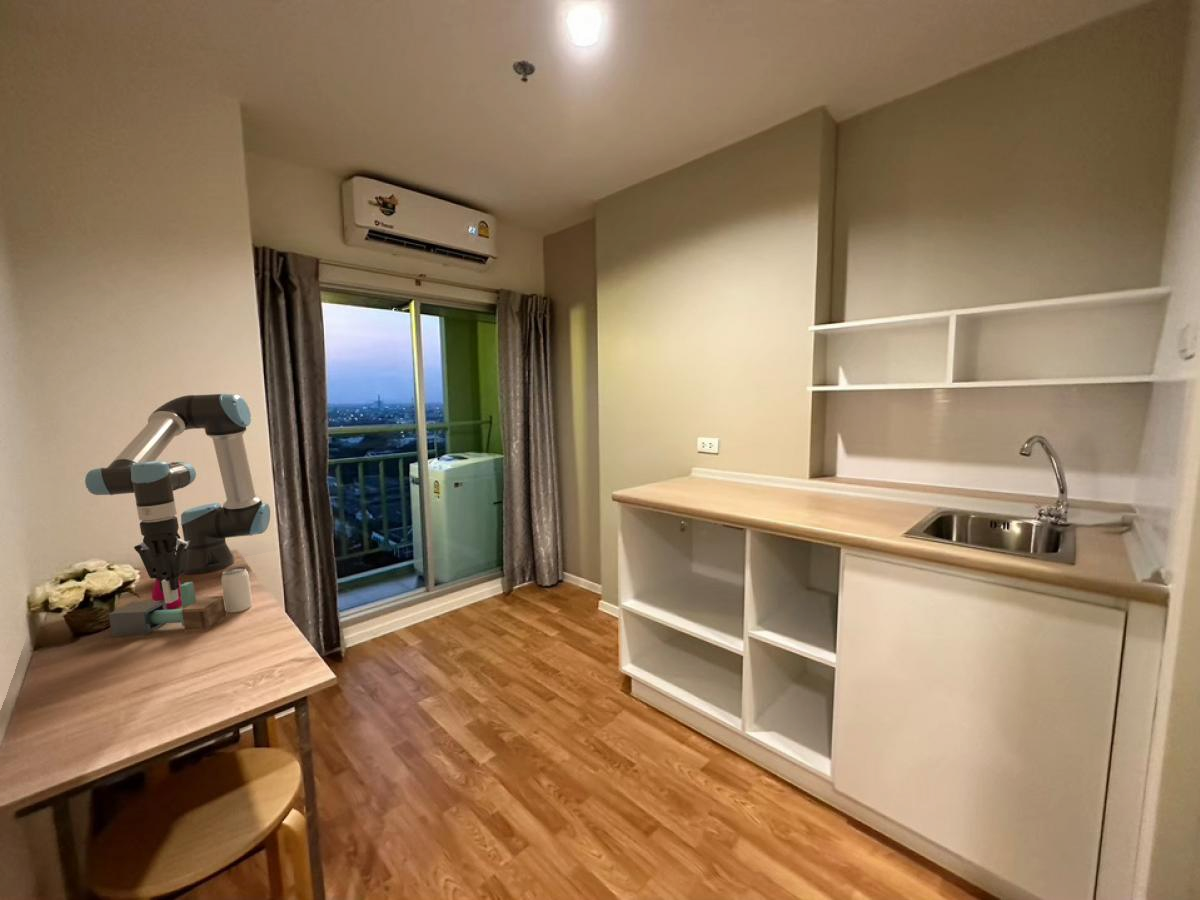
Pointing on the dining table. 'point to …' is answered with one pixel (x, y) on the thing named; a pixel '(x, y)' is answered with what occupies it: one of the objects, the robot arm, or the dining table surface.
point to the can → (236, 589)
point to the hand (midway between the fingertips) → (172, 600)
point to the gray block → (135, 618)
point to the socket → (204, 614)
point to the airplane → (174, 614)
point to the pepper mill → (159, 595)
